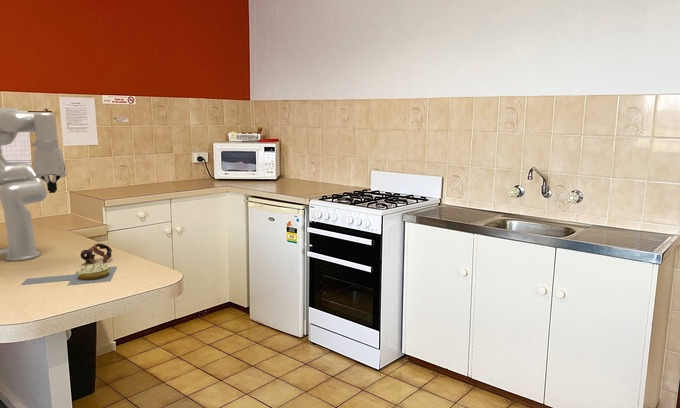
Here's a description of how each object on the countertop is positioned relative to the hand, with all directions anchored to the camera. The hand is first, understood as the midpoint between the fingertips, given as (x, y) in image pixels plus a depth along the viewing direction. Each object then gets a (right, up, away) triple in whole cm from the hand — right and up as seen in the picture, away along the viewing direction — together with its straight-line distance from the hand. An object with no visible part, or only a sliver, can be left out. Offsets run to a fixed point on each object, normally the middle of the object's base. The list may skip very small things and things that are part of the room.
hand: (52, 192), depth 205 cm
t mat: (+13, -31, -12) cm, 36 cm away
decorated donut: (+21, -31, -11) cm, 39 cm away
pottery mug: (+13, -28, +8) cm, 32 cm away
